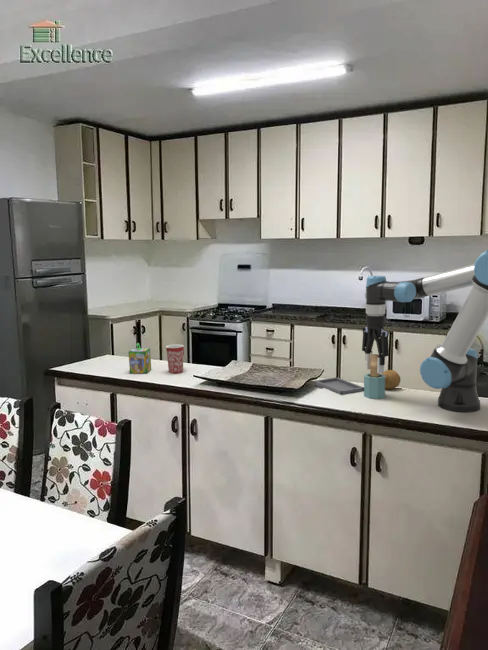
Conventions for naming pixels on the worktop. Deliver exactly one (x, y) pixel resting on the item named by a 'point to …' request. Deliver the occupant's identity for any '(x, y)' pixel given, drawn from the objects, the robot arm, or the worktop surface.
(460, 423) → the worktop surface
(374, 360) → the dowel
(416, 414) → the worktop surface
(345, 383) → the tray
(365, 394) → the cup
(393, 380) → the potato
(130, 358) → the chalk box
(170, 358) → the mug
